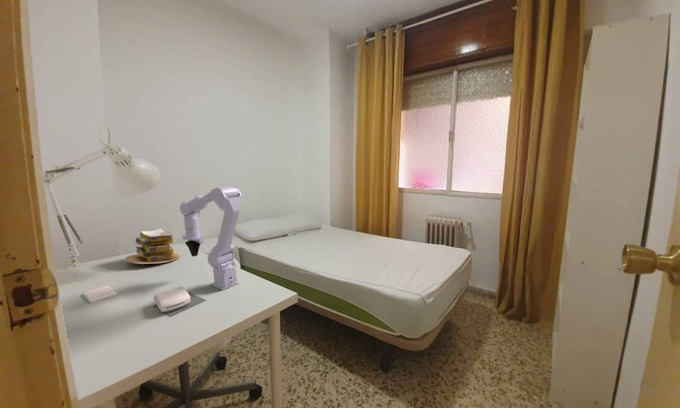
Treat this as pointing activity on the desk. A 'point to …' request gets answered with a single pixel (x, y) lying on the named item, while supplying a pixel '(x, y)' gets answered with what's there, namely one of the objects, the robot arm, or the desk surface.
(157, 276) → the desk surface
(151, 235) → the sandwich platter
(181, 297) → the photo printer
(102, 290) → the external hard drive
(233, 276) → the robot arm
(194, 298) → the rubber mat
